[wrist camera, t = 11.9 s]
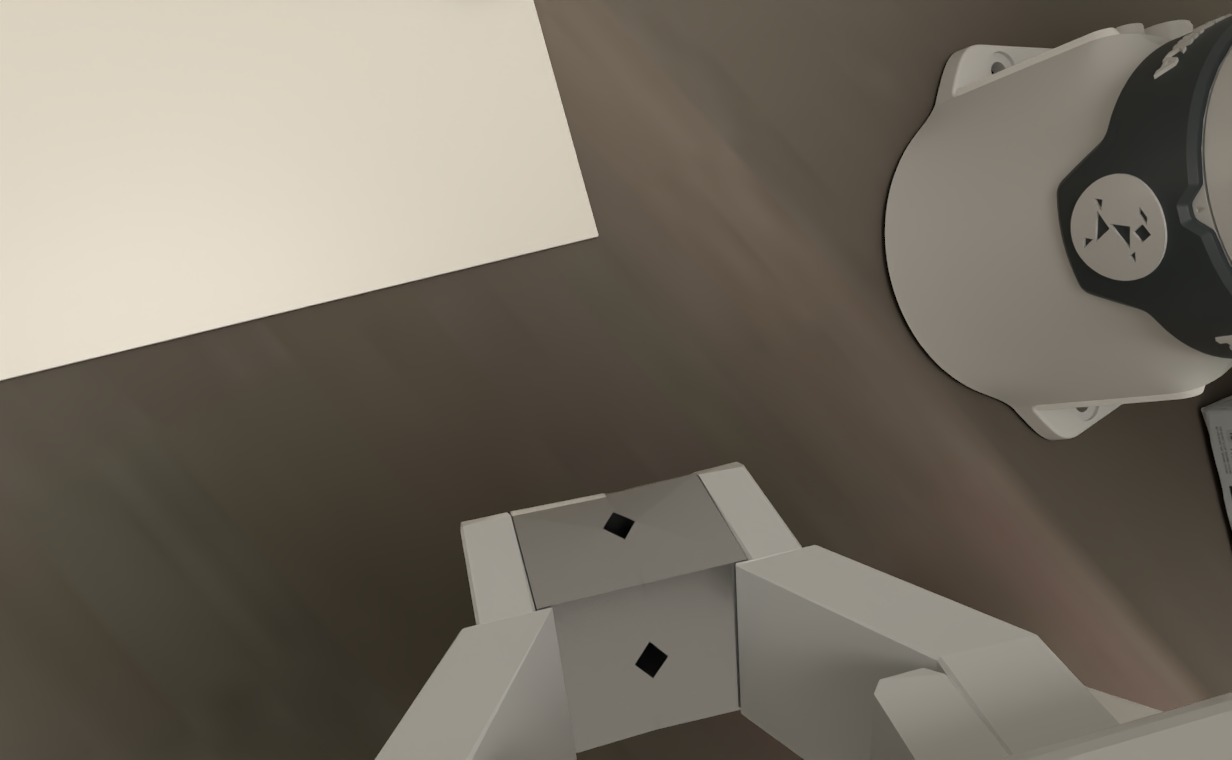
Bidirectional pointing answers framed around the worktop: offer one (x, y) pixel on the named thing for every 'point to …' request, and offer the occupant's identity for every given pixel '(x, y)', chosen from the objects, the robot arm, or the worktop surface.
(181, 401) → the worktop surface
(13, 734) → the worktop surface
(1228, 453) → the tea box
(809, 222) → the worktop surface
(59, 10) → the base board
